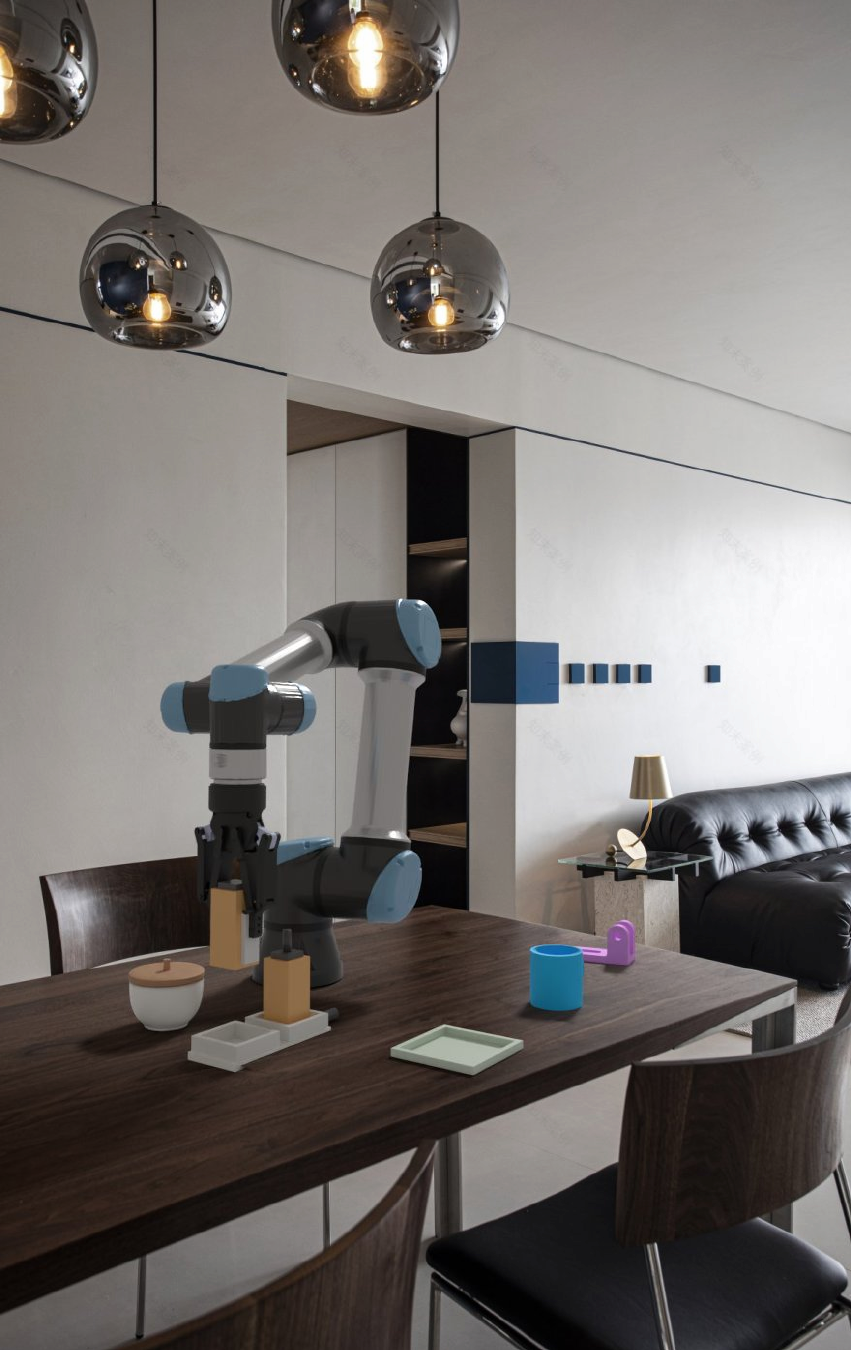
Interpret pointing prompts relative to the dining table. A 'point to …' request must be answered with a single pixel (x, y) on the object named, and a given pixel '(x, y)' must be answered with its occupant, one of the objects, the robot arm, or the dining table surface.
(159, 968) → the lidded jar
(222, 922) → the orange capped pillar
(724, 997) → the dining table surface
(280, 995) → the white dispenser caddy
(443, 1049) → the tray
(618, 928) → the bracket
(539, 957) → the mug
